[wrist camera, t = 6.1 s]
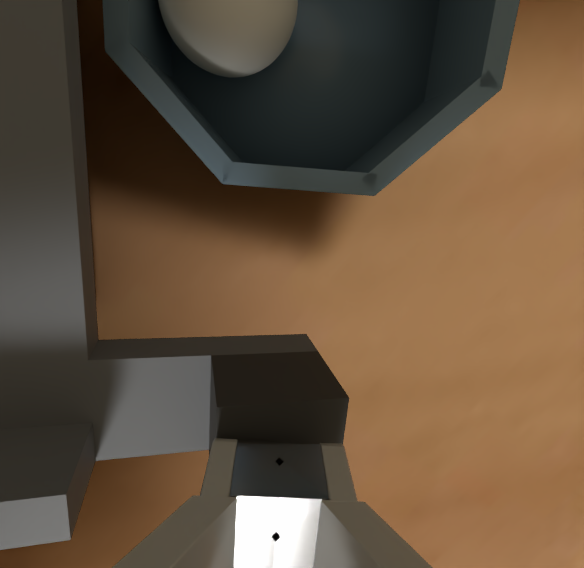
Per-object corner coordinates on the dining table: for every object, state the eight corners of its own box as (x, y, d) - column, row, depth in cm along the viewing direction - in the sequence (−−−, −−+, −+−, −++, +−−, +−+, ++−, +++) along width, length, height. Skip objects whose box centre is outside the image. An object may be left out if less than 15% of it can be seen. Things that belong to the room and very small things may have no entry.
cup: (417, 192, 16) (477, 203, 11) (162, 172, 15) (110, 175, 11) (468, -120, 13) (578, -283, 8) (157, -160, 13) (85, -358, 8)
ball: (244, 93, 15) (319, 82, 12) (136, 69, 12) (198, 48, 9) (250, -34, 14) (333, -79, 11) (132, -89, 11) (201, -168, 8)
